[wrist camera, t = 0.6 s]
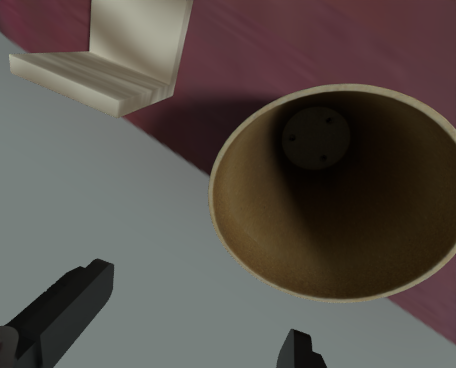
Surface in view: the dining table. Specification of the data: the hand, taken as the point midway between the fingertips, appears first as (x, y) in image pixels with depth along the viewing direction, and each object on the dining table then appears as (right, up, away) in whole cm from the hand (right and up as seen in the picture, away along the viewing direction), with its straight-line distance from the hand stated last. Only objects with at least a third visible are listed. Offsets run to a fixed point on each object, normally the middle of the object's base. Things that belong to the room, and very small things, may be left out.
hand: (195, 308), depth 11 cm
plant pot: (+11, +11, +18) cm, 24 cm away
